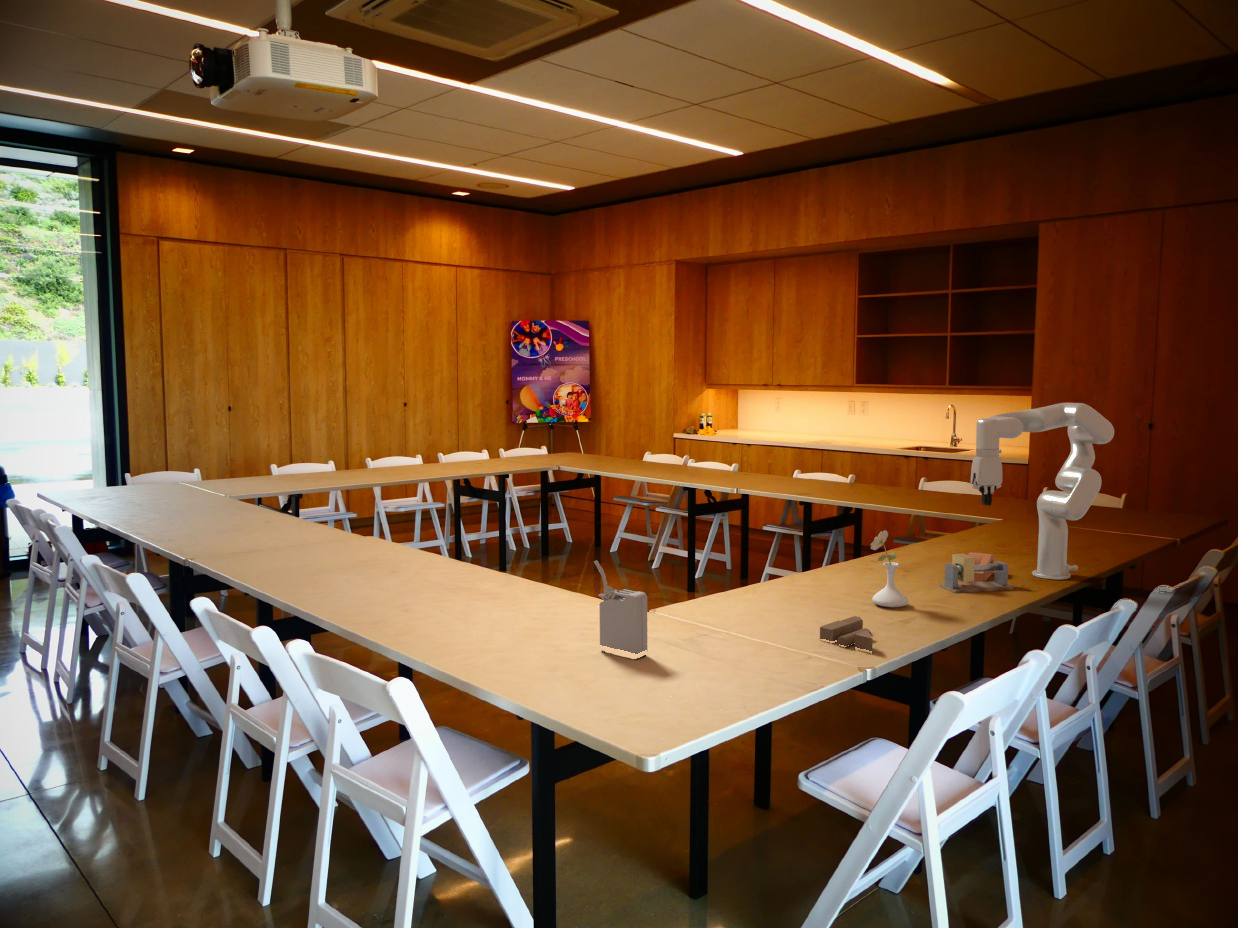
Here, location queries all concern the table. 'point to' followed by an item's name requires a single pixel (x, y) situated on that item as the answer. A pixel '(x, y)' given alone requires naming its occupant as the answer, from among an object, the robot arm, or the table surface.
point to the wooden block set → (848, 633)
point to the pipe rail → (997, 567)
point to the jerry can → (623, 618)
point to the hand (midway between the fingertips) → (986, 504)
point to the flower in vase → (888, 578)
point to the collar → (964, 566)
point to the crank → (982, 559)
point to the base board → (977, 587)
